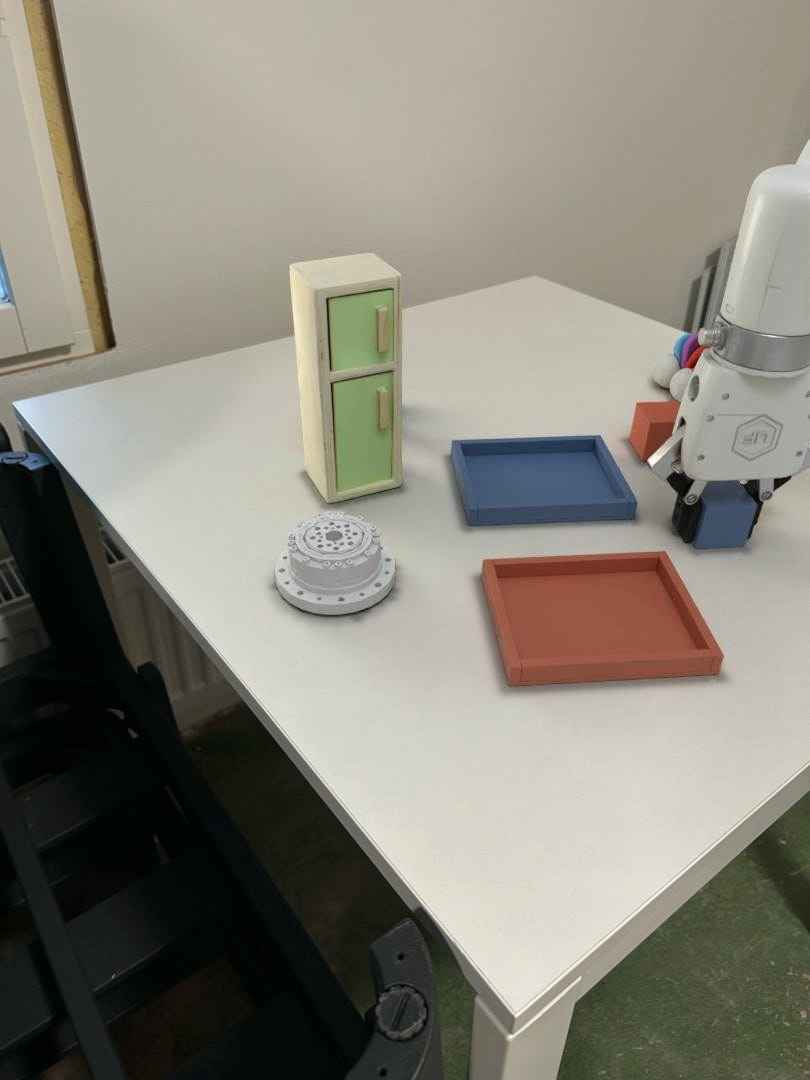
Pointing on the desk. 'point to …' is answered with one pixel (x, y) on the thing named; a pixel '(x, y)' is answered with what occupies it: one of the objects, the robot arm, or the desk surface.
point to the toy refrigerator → (349, 372)
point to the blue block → (724, 515)
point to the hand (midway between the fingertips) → (711, 529)
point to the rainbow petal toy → (679, 365)
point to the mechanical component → (335, 565)
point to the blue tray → (540, 480)
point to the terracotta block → (652, 426)
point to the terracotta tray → (596, 619)
